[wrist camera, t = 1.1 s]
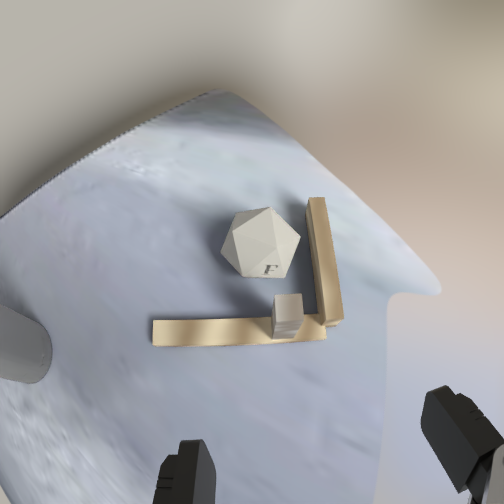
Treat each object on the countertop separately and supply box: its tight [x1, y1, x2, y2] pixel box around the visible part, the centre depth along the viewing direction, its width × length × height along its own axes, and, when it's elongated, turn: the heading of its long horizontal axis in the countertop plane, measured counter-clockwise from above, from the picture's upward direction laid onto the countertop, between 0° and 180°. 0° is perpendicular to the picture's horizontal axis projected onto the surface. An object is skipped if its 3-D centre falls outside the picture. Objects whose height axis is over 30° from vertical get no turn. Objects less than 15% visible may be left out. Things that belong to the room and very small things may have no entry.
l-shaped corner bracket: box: [153, 197, 344, 347], centre depth 35 cm, size 22×17×10 cm
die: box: [220, 207, 301, 278], centre depth 37 cm, size 8×9×10 cm
